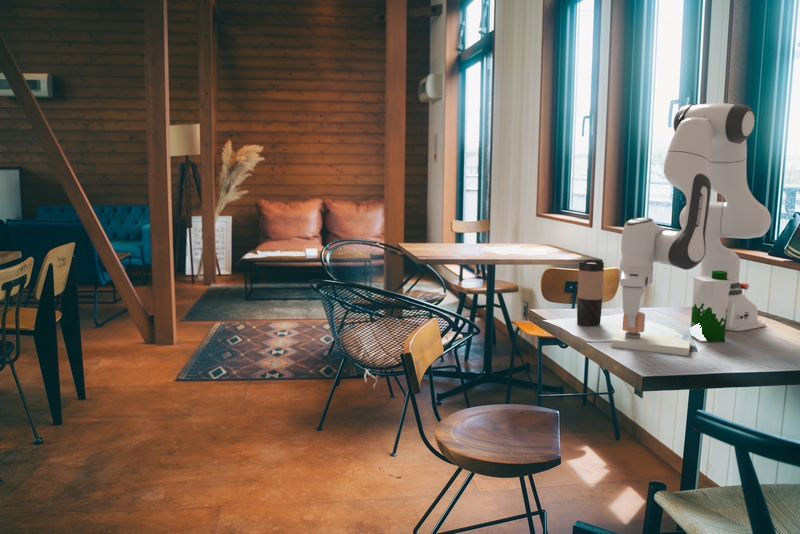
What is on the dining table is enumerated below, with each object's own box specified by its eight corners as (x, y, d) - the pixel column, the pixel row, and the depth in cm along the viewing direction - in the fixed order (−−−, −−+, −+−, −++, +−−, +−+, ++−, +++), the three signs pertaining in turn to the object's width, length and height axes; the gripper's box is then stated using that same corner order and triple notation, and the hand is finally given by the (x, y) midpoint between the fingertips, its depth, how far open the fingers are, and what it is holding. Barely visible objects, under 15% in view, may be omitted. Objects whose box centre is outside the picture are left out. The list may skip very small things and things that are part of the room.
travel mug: (602, 327, 212) (605, 264, 209) (576, 326, 213) (579, 263, 210) (599, 321, 219) (603, 260, 216) (575, 320, 221) (578, 260, 218)
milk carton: (729, 343, 194) (735, 274, 191) (697, 342, 194) (702, 273, 191) (716, 335, 203) (721, 269, 200) (685, 335, 203) (690, 269, 200)
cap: (624, 326, 196) (625, 310, 195) (644, 329, 193) (645, 312, 193) (621, 331, 191) (622, 314, 190) (642, 333, 188) (643, 316, 188)
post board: (690, 345, 192) (692, 317, 190) (688, 355, 181) (690, 326, 180) (616, 337, 200) (618, 310, 199) (610, 346, 189) (612, 318, 188)
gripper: (628, 270, 200) (625, 315, 202) (619, 280, 182) (616, 330, 184) (651, 271, 198) (648, 317, 200) (644, 282, 179) (641, 333, 182)
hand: (633, 324), depth 192 cm, fingers closed on cap, 6 cm apart
